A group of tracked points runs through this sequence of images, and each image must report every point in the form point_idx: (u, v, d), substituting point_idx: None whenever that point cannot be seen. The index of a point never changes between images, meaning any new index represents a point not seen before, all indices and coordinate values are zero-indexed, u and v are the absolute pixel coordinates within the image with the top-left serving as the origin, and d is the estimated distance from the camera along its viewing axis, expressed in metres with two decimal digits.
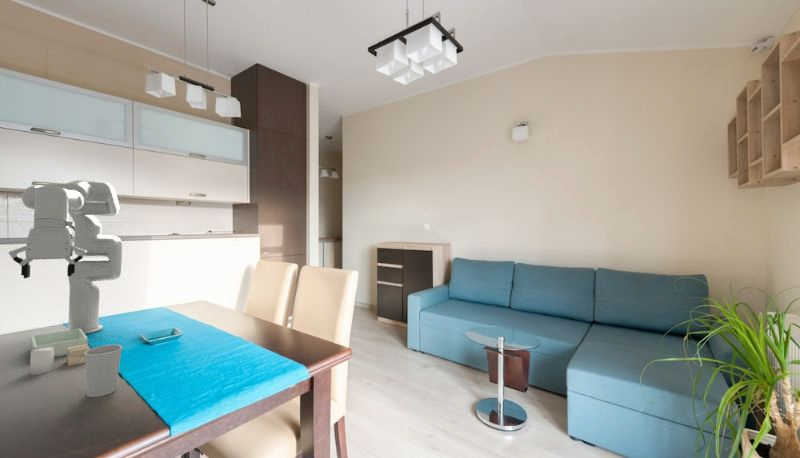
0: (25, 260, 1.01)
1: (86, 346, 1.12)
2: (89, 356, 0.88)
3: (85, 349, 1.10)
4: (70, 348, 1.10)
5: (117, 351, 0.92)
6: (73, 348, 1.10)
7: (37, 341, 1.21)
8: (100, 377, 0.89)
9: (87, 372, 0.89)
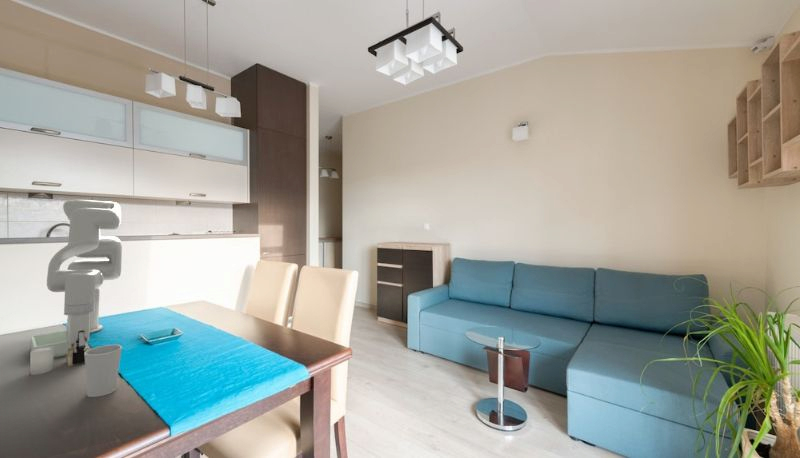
0: None
1: (86, 346, 1.12)
2: (89, 356, 0.88)
3: None
4: (70, 348, 1.10)
5: (117, 351, 0.92)
6: (73, 347, 1.10)
7: (37, 341, 1.21)
8: (100, 377, 0.89)
9: (87, 372, 0.89)
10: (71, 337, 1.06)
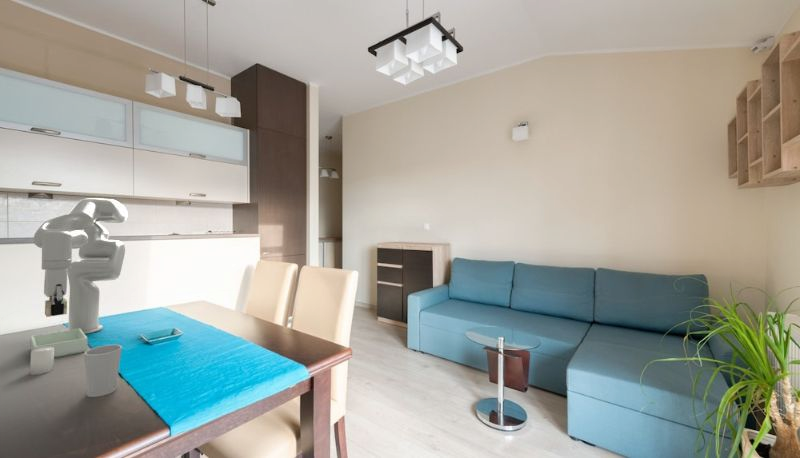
0: None
1: (63, 299, 1.20)
2: (89, 356, 0.88)
3: None
4: (48, 300, 1.18)
5: (117, 351, 0.92)
6: (51, 300, 1.18)
7: (37, 341, 1.21)
8: (100, 377, 0.89)
9: (87, 372, 0.89)
10: (49, 290, 1.13)
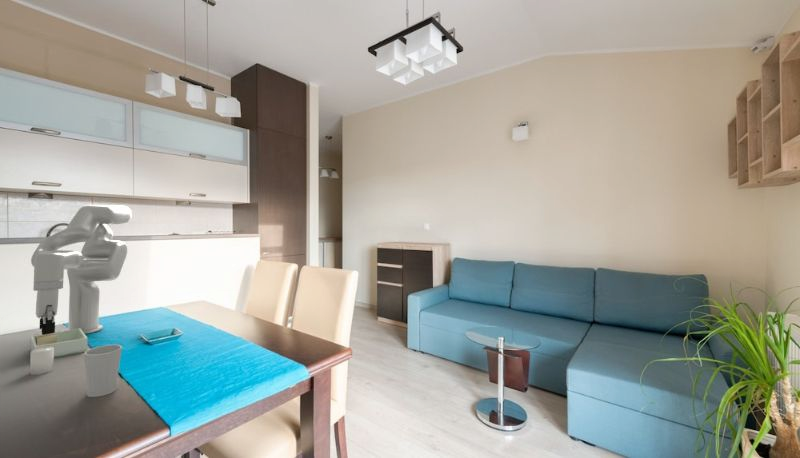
0: None
1: (54, 334, 1.21)
2: (89, 356, 0.88)
3: (53, 336, 1.19)
4: (39, 335, 1.19)
5: (117, 351, 0.92)
6: (41, 335, 1.19)
7: None
8: (100, 377, 0.89)
9: (87, 372, 0.89)
10: (39, 311, 1.15)
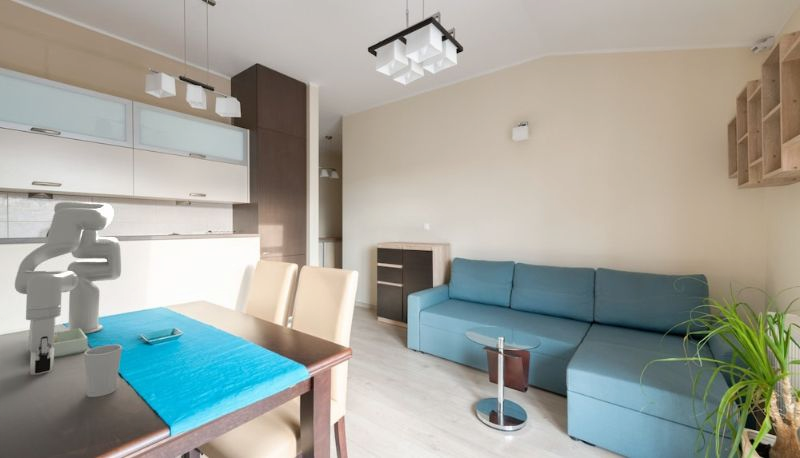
0: None
1: None
2: (89, 356, 0.88)
3: None
4: None
5: (117, 351, 0.92)
6: None
7: None
8: (100, 377, 0.89)
9: (87, 372, 0.89)
10: (33, 344, 0.98)
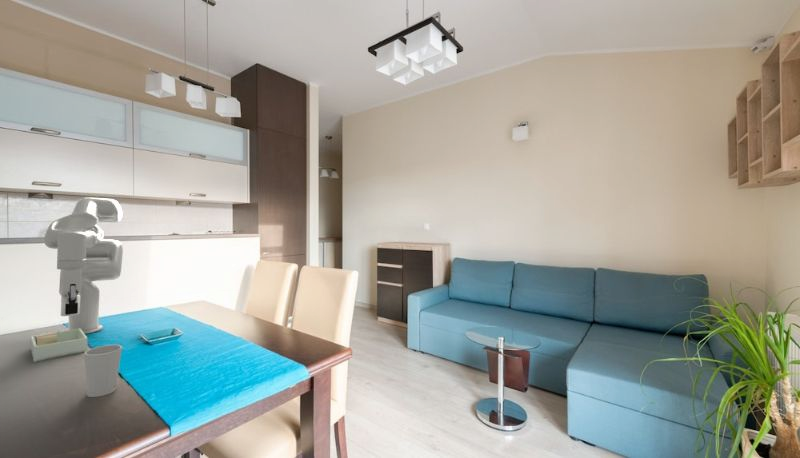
0: None
1: (54, 334, 1.21)
2: (89, 356, 0.88)
3: (53, 336, 1.19)
4: (39, 335, 1.19)
5: (117, 351, 0.92)
6: (41, 335, 1.19)
7: None
8: (100, 377, 0.89)
9: (87, 372, 0.89)
10: (63, 289, 1.15)
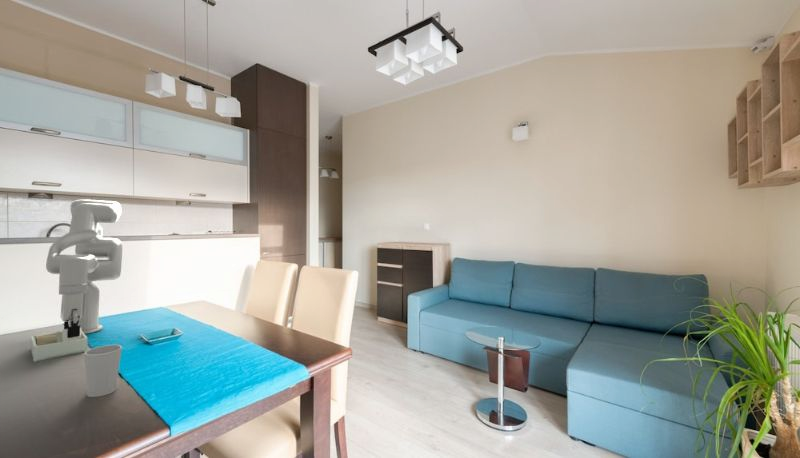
0: None
1: (54, 334, 1.21)
2: (89, 356, 0.88)
3: (53, 336, 1.19)
4: (39, 335, 1.19)
5: (117, 351, 0.92)
6: (41, 335, 1.19)
7: None
8: (100, 377, 0.89)
9: (87, 372, 0.89)
10: (65, 314, 1.17)
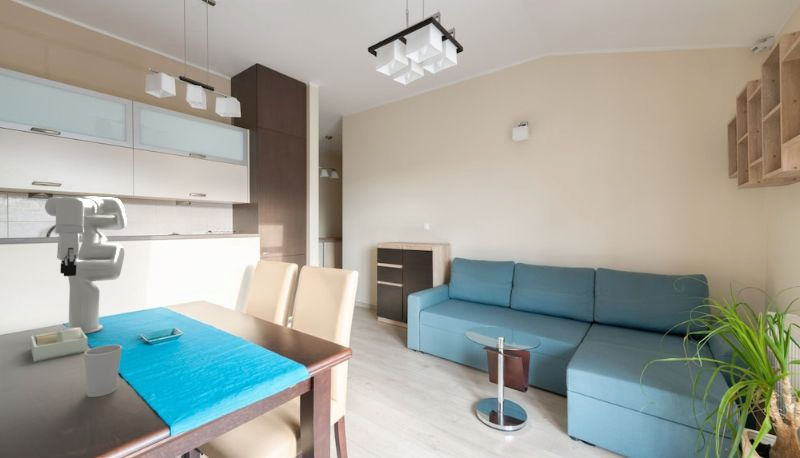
0: None
1: (54, 334, 1.21)
2: (89, 356, 0.88)
3: (53, 336, 1.19)
4: (39, 335, 1.19)
5: (117, 351, 0.92)
6: (41, 335, 1.19)
7: None
8: (100, 377, 0.89)
9: (87, 372, 0.89)
10: (61, 252, 1.17)
